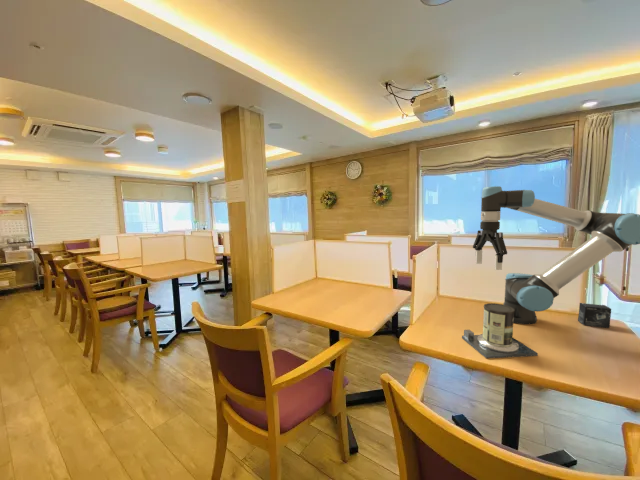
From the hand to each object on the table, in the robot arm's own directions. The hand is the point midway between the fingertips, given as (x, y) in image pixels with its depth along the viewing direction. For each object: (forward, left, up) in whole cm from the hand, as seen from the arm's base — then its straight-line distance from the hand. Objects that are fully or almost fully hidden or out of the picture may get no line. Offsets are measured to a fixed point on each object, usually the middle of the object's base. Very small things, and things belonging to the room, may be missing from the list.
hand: (487, 266), depth 126 cm
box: (-50, +4, -29) cm, 58 cm away
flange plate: (+8, +19, -29) cm, 36 cm away
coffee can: (+8, +19, -27) cm, 34 cm away
